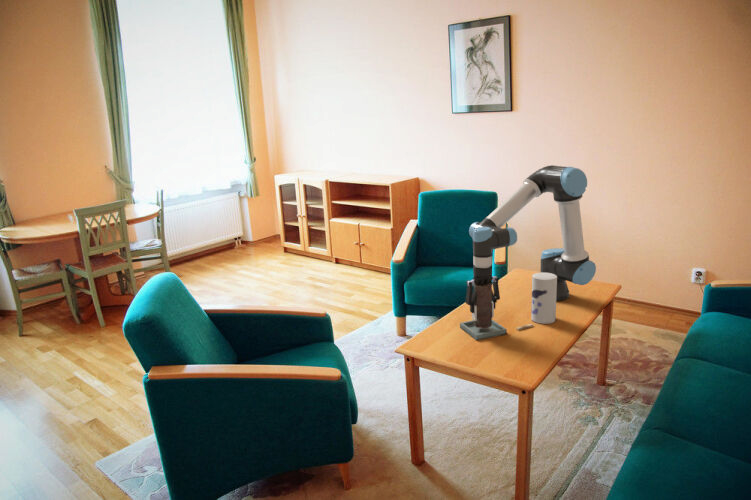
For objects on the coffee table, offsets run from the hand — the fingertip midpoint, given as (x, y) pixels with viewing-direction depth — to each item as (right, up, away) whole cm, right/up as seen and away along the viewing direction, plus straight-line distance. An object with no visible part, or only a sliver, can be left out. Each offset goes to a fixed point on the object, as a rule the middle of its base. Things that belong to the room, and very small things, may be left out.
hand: (482, 317), depth 218 cm
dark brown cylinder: (0, -4, +1) cm, 4 cm away
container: (+28, -2, +9) cm, 30 cm away
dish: (0, -6, +1) cm, 6 cm away
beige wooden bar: (+18, -5, +2) cm, 19 cm away
